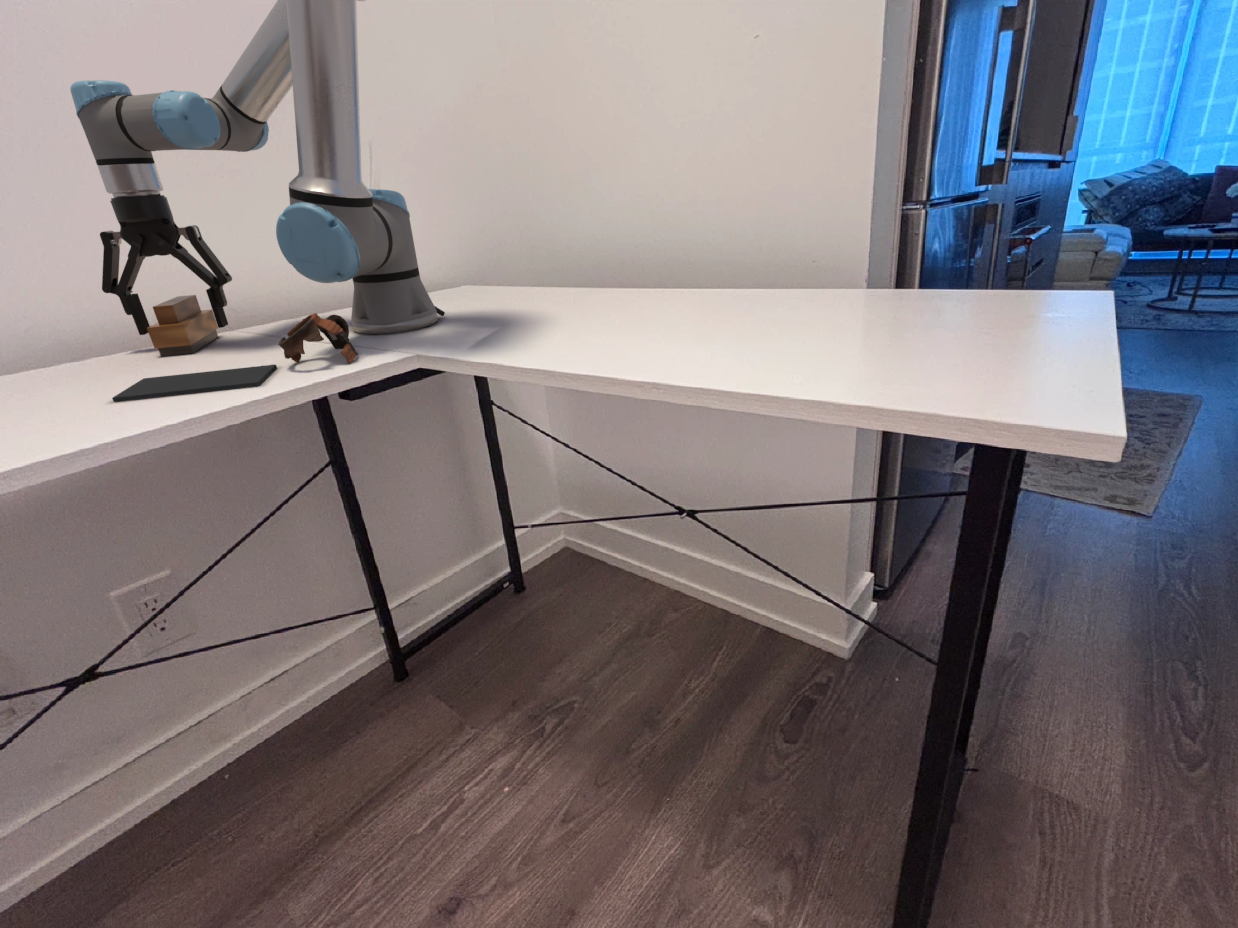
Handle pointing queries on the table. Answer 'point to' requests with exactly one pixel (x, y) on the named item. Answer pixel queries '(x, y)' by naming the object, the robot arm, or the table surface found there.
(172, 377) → the mat
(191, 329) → the brush
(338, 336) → the brown black curved piece
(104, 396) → the table surface
